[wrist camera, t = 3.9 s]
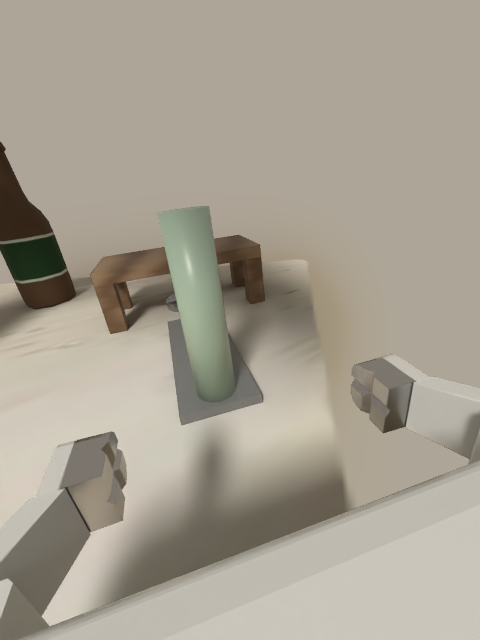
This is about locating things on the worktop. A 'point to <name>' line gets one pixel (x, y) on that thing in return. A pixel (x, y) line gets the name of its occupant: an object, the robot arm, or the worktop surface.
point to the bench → (154, 262)
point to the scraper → (201, 322)
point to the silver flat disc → (172, 303)
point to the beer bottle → (30, 246)
